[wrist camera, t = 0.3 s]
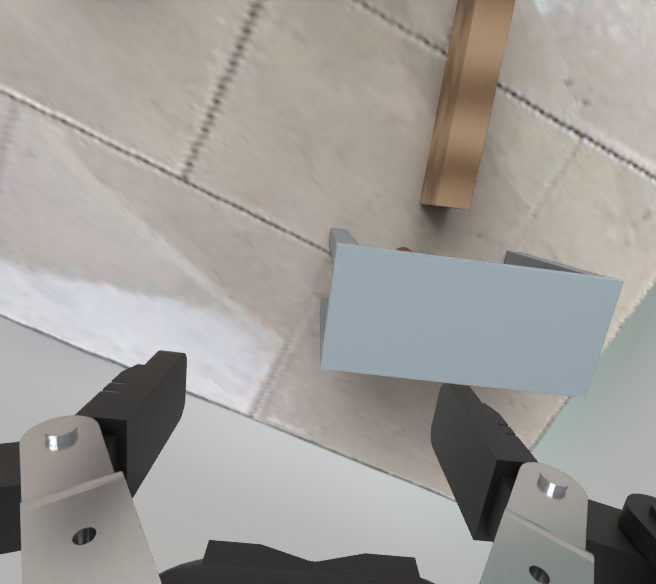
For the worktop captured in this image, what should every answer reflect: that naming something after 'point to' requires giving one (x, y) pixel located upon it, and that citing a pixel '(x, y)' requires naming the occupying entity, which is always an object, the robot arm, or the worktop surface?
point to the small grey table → (464, 319)
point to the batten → (466, 101)
